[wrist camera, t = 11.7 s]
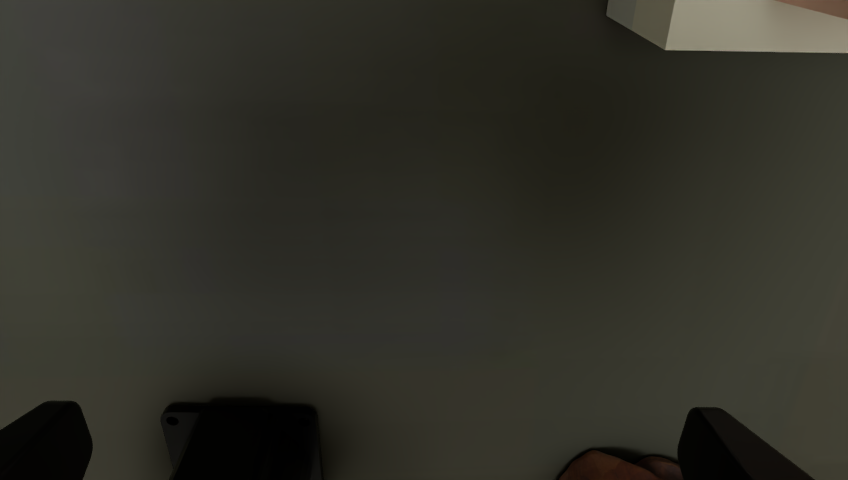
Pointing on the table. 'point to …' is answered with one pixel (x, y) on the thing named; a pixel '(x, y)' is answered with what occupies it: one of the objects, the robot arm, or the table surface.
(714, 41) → the white foam block
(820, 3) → the coral brick
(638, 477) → the wooden figurine
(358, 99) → the table surface
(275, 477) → the robot arm
